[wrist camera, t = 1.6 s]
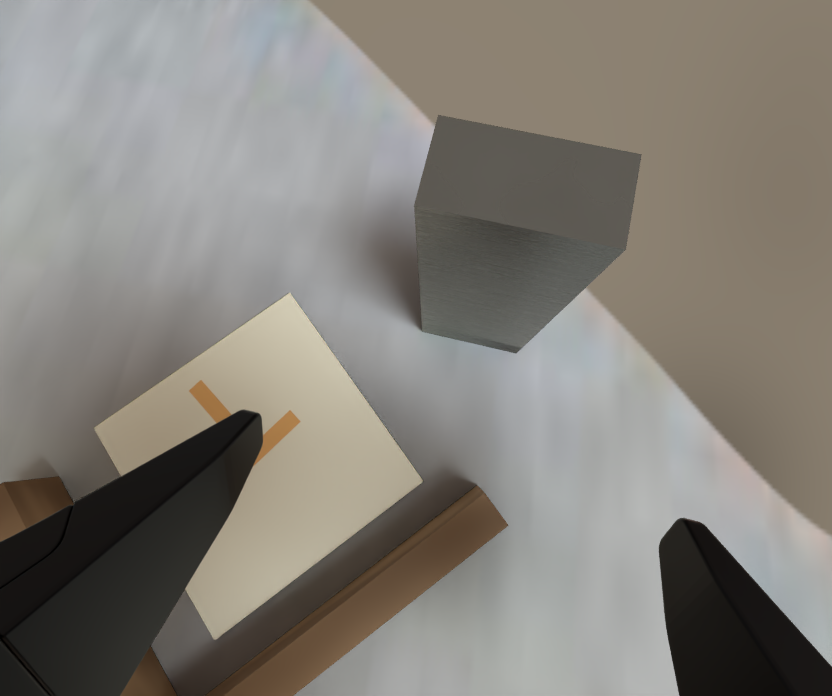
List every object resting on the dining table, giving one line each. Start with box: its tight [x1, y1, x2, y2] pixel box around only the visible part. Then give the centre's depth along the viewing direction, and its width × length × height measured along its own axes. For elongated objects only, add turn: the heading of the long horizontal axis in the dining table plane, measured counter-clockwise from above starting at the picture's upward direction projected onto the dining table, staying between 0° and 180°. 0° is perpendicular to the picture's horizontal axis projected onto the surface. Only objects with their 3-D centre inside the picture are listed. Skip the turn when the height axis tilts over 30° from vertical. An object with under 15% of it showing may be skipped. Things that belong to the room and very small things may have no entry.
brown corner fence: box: [0, 477, 508, 696], centre depth 20 cm, size 14×18×3 cm
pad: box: [94, 293, 423, 641], centre depth 22 cm, size 12×12×1 cm
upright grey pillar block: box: [414, 115, 641, 353], centre depth 17 cm, size 5×6×13 cm
